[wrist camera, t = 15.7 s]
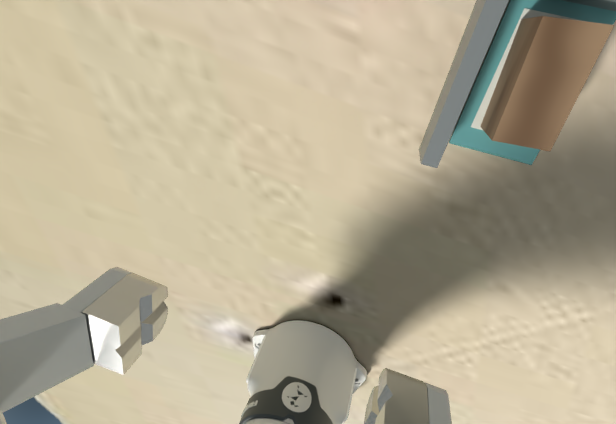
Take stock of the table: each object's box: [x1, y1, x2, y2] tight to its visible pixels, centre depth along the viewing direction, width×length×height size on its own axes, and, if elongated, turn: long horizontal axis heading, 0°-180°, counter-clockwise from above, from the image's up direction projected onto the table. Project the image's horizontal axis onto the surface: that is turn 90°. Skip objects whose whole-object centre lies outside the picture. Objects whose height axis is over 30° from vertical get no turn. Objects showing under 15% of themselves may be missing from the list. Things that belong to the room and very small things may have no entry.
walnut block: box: [480, 16, 614, 151], centre depth 27 cm, size 4×9×5 cm, turn 173°
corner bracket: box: [419, 0, 616, 168], centre depth 28 cm, size 16×15×4 cm
